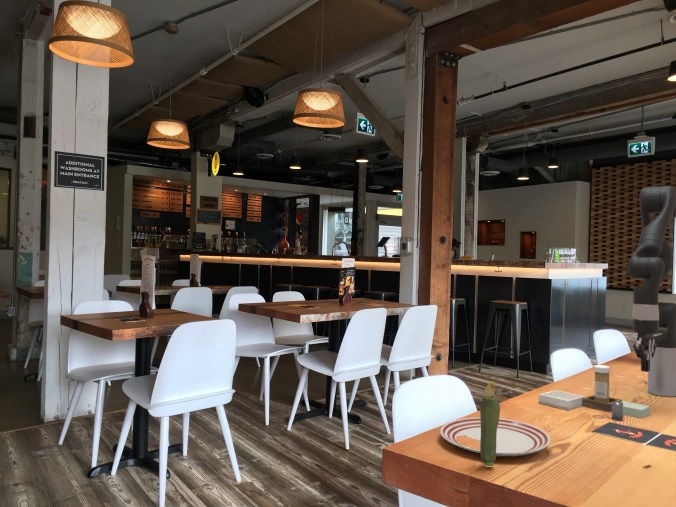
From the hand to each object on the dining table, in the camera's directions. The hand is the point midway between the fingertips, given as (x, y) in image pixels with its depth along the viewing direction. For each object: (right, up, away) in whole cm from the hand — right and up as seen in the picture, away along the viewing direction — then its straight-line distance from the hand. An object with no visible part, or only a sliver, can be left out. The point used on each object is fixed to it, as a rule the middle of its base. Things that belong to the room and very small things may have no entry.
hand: (645, 371), depth 173 cm
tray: (-26, -12, +4) cm, 28 cm away
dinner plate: (-60, -12, -35) cm, 70 cm away
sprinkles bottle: (-13, -12, +2) cm, 18 cm away
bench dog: (-15, -12, -12) cm, 23 cm away
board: (-8, -12, -6) cm, 16 cm away
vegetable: (-65, -11, -51) cm, 83 cm away
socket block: (-13, -12, +2) cm, 18 cm away
